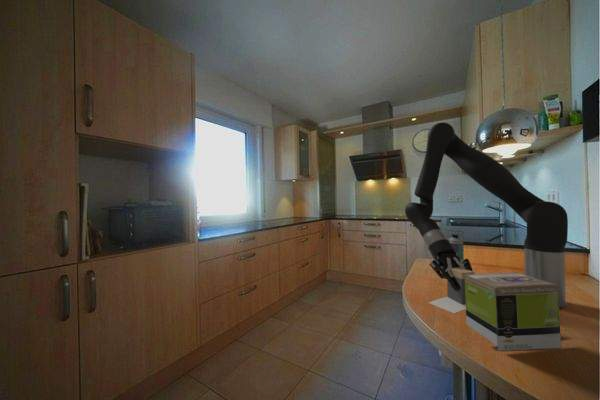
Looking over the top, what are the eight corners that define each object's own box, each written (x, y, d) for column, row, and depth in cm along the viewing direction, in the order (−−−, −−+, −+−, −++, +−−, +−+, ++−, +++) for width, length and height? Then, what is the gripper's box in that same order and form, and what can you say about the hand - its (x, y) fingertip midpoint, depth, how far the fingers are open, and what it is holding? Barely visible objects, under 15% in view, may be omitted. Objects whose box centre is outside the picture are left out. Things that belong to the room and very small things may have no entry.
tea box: (519, 326, 62) (518, 271, 62) (562, 350, 52) (561, 284, 52) (464, 328, 62) (463, 272, 62) (497, 352, 52) (496, 286, 52)
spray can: (454, 280, 98) (453, 232, 99) (467, 284, 93) (466, 234, 93) (444, 281, 97) (444, 233, 97) (457, 286, 92) (456, 235, 92)
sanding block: (459, 295, 79) (459, 266, 79) (474, 303, 73) (474, 272, 73) (447, 296, 79) (447, 267, 79) (461, 304, 73) (461, 272, 73)
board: (453, 297, 81) (453, 294, 81) (480, 306, 74) (480, 303, 74) (428, 306, 74) (428, 302, 74) (454, 317, 67) (454, 313, 67)
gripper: (425, 239, 83) (451, 285, 71) (461, 237, 84) (493, 282, 72) (415, 250, 88) (439, 295, 76) (450, 249, 90) (478, 293, 78)
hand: (465, 289), depth 74 cm, fingers closed on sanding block, 4 cm apart
